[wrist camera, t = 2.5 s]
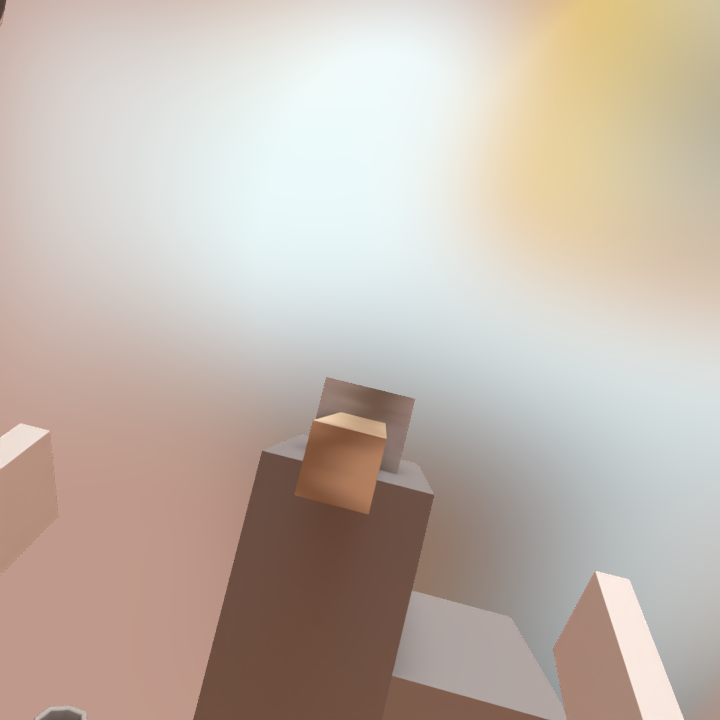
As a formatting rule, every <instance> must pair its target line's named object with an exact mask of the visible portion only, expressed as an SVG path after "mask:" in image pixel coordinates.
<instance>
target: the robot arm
mask: <svg viewBox="0 0 720 720" xmlns="http://www.w3.org/2000/svg"><path fill="white" fill-rule="evenodd" d="M5 4H6V0H0V26H1V24H2V20H3V15H4V10H5ZM57 518H58V507H57V496H56V486H55V476H54V466H53V456H52V445H51V436H50V431H48V430H45V429H40V428H37V427H33V426H29V425H24V424H19V425H17V426H16V427H15V428H13V429H12V430H11V431H9V432H8V433H6V434H5V435H3V436H2V437H0V575H1V574H2V573H3V572H4V571H5V570H6V569H7V568H8V567H9V566H10V565H11V564H12V563H13V562H14V561H15V560H16V559H17V558H18V557H19V556H20V555H21V554H22V553H23V552H24V551H25V550H26V549H27V548H28V547H29V546H30V545H31V544H32V543H33V542H34V541H35V540H36V539H37V538H38V537H39V536H40V535H41V534H42V533H43V532H44V531H45V530H46V529H47V528H48V527H49V526H50V525H51V524H52V523H53V522H54V521H55V520H56V519H57ZM553 652H554V657H555V662H556V667H557V672H558V678H559V683H560V688H561V693H562V698H563V703H564V709H565V714H566V719H567V720H684V718H683V716H682V713H681V711H680V708H679V706H678V703H677V701H676V698H675V695H674V693H673V690H672V688H671V685H670V683H669V680H668V677H667V675H666V672H665V670H664V667H663V665H662V662H661V660H660V657H659V654H658V652H657V649H656V647H655V644H654V642H653V639H652V636H651V634H650V631H649V629H648V626H647V624H646V622H645V618H644V616H643V614H642V611H641V609H640V606H639V603H638V601H637V598H636V596H635V593H634V590H633V588H632V585H631V583H630V580H629V579H625V578H621V577H617V576H613V575H609V574H606V573H602V572H597V571H595V572H594V574H593V576H592V577H591V579H590V581H589V583H588V585H587V587H586V589H585V591H584V592H583V594H582V596H581V598H580V600H579V602H578V603H577V605H576V607H575V609H574V611H573V613H572V615H571V616H570V618H569V620H568V622H567V624H566V626H565V628H564V630H563V631H562V633H561V635H560V637H559V639H558V640H557V642H556V644H555V646H554V648H553Z"/></svg>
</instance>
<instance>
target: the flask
mask: <svg viewBox="0 0 720 720" xmlns="http://www.w3.org/2000/svg"><path fill="white" fill-rule="evenodd" d="M34 720H87V712H86V711H84V710H81V709H79V708H76V707H73V706H71V705H69V706H50V707H48V708H47V709H46V710H44V711H43V712H41V713H40V714H39V715H37V716H36V717H35V718H34Z"/></svg>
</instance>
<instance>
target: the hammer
mask: <svg viewBox="0 0 720 720" xmlns="http://www.w3.org/2000/svg"><path fill="white" fill-rule="evenodd" d="M414 401H415V399H413V398H409V397H405V396H401V395H397V394H393V393H388V392H385V391H381V390H377V389H373V388H368V387H364V386H360V385H356V384H352V383H348V382H344V381H340V380H335V379H331V378H328V377H326V380H325V384H324V388H323V392H322V396H321V400H320V404H319V408H318V412H317V416H316V420H313V422H312V426H311V430H310V434H309V438H308V442H307V446H306V450H305V454H304V458H303V462H302V466H301V470H300V474H299V478H298V482H297V486H296V490H295V494H294V495H296V496H300V497H304V498H308V499H311V500H315V501H319V502H323V503H327V504H331V505H334V506H338V507H342V508H346V509H350V510H354V511H357V512H361V513H365V514H369V511H370V506H371V502H372V498H373V494H374V490H375V486H376V481H377V477H378V473H379V470H382V471H386V472H390V473H394V474H397V473H398V469H399V464H400V460H401V456H402V452H403V448H404V443H405V439H406V435H407V431H408V427H409V422H410V418H411V413H412V409H413V405H414Z"/></svg>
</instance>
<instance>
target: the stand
mask: <svg viewBox="0 0 720 720" xmlns="http://www.w3.org/2000/svg"><path fill="white" fill-rule="evenodd" d="M308 438H309V436H305V435H302V434H301V435H299V436H296V437H294V438H291V439H289V440H287V441H284V442H282V443H280V444H277V445H275V446H272V447H270V448H267V449H265V450H263V451H262V454H261V457H260V461H259V465H258V469H257V473H256V477H255V481H254V485H253V489H252V493H251V497H250V500H249V504H248V508H247V512H246V516H245V520H244V524H243V528H242V532H241V536H240V540H239V543H238V547H237V552H236V555H235V559H234V563H233V567H232V571H231V575H230V578H229V583H228V586H227V590H226V594H225V598H224V602H223V606H222V610H221V614H220V618H219V622H218V625H217V629H216V633H215V637H214V641H213V645H212V649H211V653H210V657H209V660H208V665H207V668H206V672H205V676H204V680H203V684H202V688H201V692H200V696H199V700H198V703H197V708H196V711H195V715H194V719H193V720H567V719H566V714H565V709H564V708H563V706H562V704H561V702H560V701H559V699H558V697H557V696H556V694H555V692H554V690H553V689H552V687H551V685H550V684H549V682H548V680H547V679H546V677H545V675H544V673H543V672H542V670H541V668H540V667H539V665H538V663H537V661H536V660H535V658H534V656H533V655H532V653H531V651H530V649H529V648H528V646H527V644H526V643H525V641H524V639H523V637H522V636H521V634H520V632H519V631H518V629H517V627H516V625H515V624H514V622H513V620H512V619H511V617H508V616H505V615H501V614H497V613H493V612H489V611H486V610H482V609H478V608H475V607H471V606H467V605H464V604H460V603H456V602H452V601H449V600H445V599H441V598H438V597H434V596H430V595H426V594H422V593H419V592H415V591H412V588H413V583H414V579H415V575H416V571H417V567H418V562H419V558H420V554H421V549H422V545H423V541H424V537H425V532H426V528H427V524H428V519H429V515H430V511H431V506H432V502H433V498H434V493H433V492H432V490H431V488H430V486H429V484H428V482H427V481H426V478H425V477H424V475H423V473H422V471H421V469H420V467H419V465H418V464H416V463H412V462H408V461H404V460H400V464H399V469H398V473H397V474H394V473H390V472H386V471H382V470H379V473H378V477H377V481H376V486H375V490H374V494H373V498H372V502H371V506H370V511H369V514H365V513H361V512H357V511H354V510H350V509H346V508H342V507H338V506H334V505H331V504H327V503H323V502H319V501H315V500H311V499H308V498H304V497H300V496H296V495H294V494H295V490H296V486H297V482H298V478H299V474H300V470H301V466H302V462H303V458H304V454H305V450H306V446H307V442H308Z"/></svg>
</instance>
